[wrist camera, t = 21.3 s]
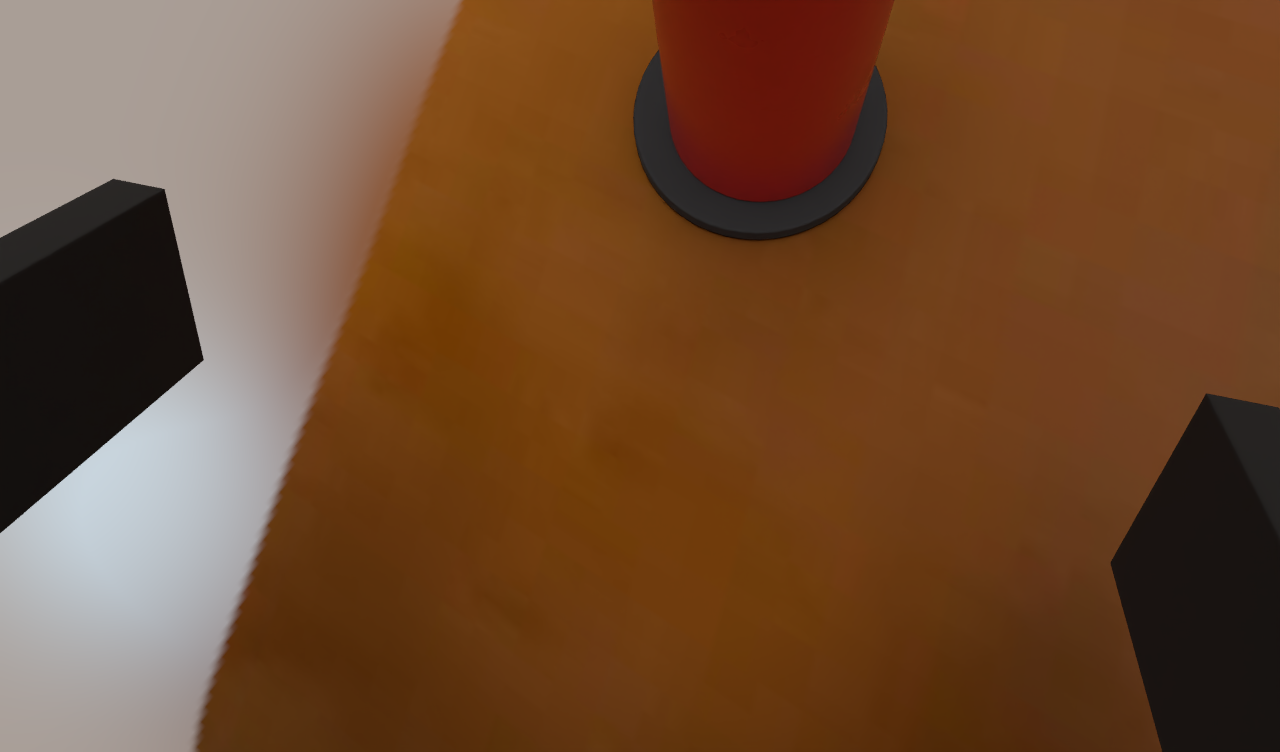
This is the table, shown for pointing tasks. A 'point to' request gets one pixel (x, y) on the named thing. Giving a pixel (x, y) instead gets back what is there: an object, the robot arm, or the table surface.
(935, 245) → the table surface
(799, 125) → the disc
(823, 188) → the coaster
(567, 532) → the table surface
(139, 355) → the robot arm
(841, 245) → the table surface
